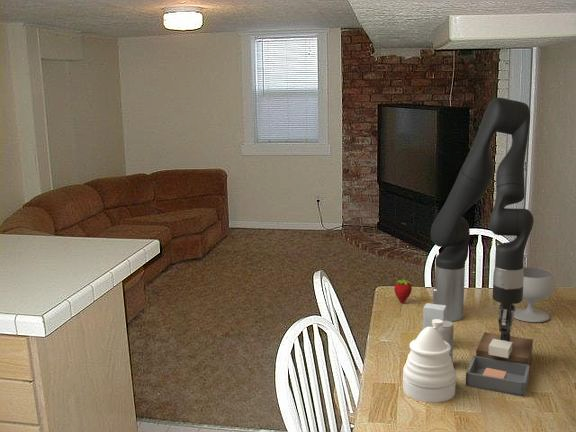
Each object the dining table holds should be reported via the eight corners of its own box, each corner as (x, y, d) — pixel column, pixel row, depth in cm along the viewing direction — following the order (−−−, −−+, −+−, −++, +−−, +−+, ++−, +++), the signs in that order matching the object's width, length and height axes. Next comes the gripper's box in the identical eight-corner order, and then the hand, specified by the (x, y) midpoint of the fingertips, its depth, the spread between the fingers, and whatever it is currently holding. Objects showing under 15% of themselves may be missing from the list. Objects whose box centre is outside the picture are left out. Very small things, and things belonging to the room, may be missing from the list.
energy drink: (429, 361, 171) (430, 320, 169) (448, 360, 172) (449, 319, 169) (435, 369, 166) (436, 327, 164) (455, 368, 167) (456, 326, 164)
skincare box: (446, 343, 182) (447, 305, 180) (443, 349, 179) (444, 310, 176) (425, 340, 185) (426, 302, 182) (422, 346, 181) (423, 307, 179)
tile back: (488, 354, 163) (488, 345, 163) (492, 347, 167) (493, 338, 167) (508, 358, 161) (508, 349, 160) (511, 350, 165) (512, 342, 164)
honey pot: (437, 374, 164) (438, 309, 160) (465, 396, 152) (468, 327, 148) (393, 382, 160) (394, 316, 156) (419, 406, 148) (420, 335, 144)
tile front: (486, 367, 160) (486, 376, 161) (481, 375, 156) (481, 384, 157) (506, 371, 158) (506, 380, 158) (502, 379, 154) (502, 389, 154)
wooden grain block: (475, 367, 167) (476, 350, 166) (483, 348, 178) (484, 332, 177) (527, 376, 161) (528, 358, 160) (532, 356, 173) (533, 339, 172)
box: (465, 385, 157) (466, 373, 157) (473, 367, 167) (473, 355, 166) (524, 396, 151) (525, 383, 150) (528, 377, 161) (529, 364, 160)
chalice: (498, 316, 202) (500, 272, 199) (521, 305, 211) (523, 263, 208) (539, 328, 192) (542, 281, 189) (561, 316, 201) (564, 272, 197)
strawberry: (412, 300, 218) (413, 273, 216) (410, 307, 211) (410, 279, 209) (395, 299, 220) (396, 272, 218) (392, 306, 213) (392, 278, 211)
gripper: (496, 273, 171) (494, 332, 175) (489, 289, 159) (486, 351, 163) (525, 277, 168) (522, 336, 171) (520, 292, 156) (517, 356, 160)
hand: (505, 344), depth 167 cm, fingers closed
